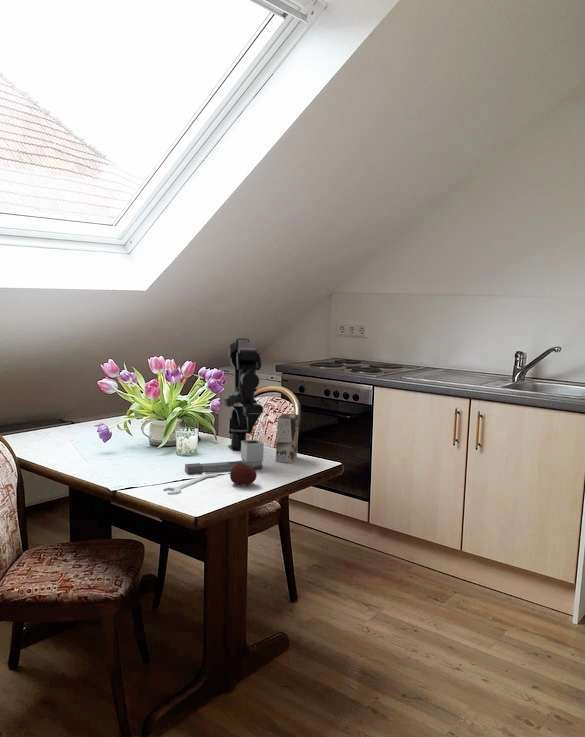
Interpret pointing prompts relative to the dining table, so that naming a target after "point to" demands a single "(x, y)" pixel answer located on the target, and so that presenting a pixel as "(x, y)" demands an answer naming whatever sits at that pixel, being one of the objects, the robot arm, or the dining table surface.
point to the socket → (252, 450)
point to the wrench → (189, 483)
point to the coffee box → (287, 438)
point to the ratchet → (218, 466)
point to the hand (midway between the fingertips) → (245, 428)
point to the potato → (242, 474)
